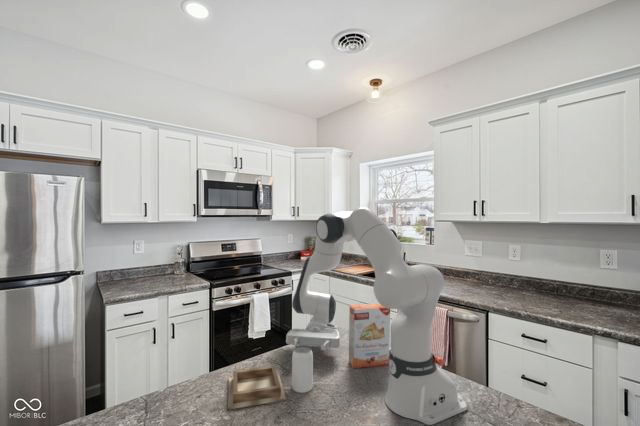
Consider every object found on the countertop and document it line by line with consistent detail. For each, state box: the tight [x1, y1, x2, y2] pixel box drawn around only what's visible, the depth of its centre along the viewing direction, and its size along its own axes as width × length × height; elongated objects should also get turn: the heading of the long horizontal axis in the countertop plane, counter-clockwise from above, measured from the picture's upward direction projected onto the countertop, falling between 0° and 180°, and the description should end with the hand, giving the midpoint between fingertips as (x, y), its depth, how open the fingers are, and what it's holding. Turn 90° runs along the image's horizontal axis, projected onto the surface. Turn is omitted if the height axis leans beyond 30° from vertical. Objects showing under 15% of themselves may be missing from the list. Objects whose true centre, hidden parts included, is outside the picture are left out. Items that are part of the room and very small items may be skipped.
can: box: [291, 345, 314, 394], centre depth 93 cm, size 6×6×12 cm
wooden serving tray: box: [227, 365, 287, 410], centre depth 92 cm, size 16×16×3 cm
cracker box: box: [348, 303, 391, 369], centre depth 109 cm, size 14×6×21 cm, turn 104°
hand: (309, 347), depth 105 cm, fingers open, 8 cm apart
